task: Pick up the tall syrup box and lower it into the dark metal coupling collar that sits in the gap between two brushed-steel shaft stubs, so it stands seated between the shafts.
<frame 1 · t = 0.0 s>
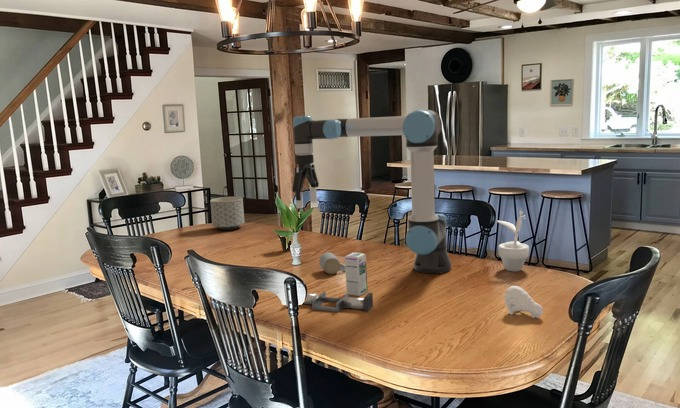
hand: (307, 205, 223), 28 cm above the table, fingers open, 13 cm apart
planter: (229, 229, 323), on the table
ceramic mug: (333, 272, 224), on the table
potted plant: (512, 269, 215), on the table
coupling cradle: (331, 305, 184), on the table
syrup box: (357, 293, 196), on the table
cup: (287, 251, 263), on the table
white lumpy piece: (524, 315, 168), on the table
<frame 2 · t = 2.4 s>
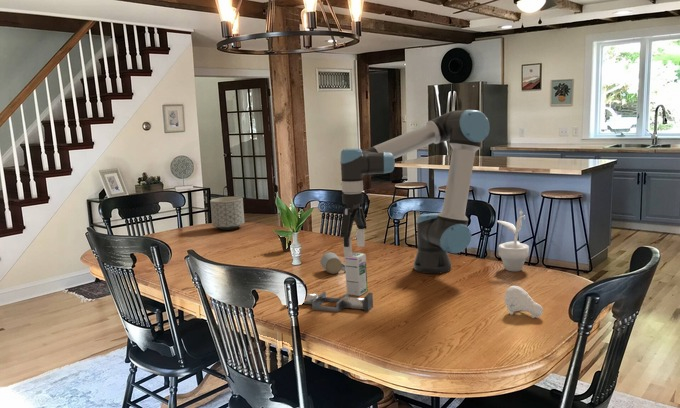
hand: (354, 250, 193), 16 cm above the table, fingers open, 13 cm apart
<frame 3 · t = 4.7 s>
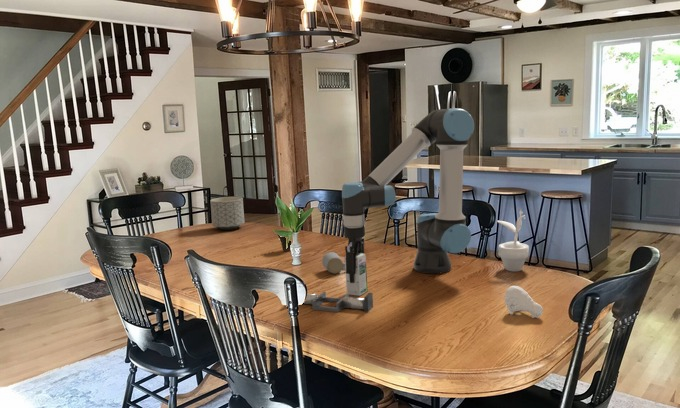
hand: (356, 287, 196), 2 cm above the table, fingers closed on syrup box, 6 cm apart
syrup box: (357, 293, 196), on the table, touching gripper
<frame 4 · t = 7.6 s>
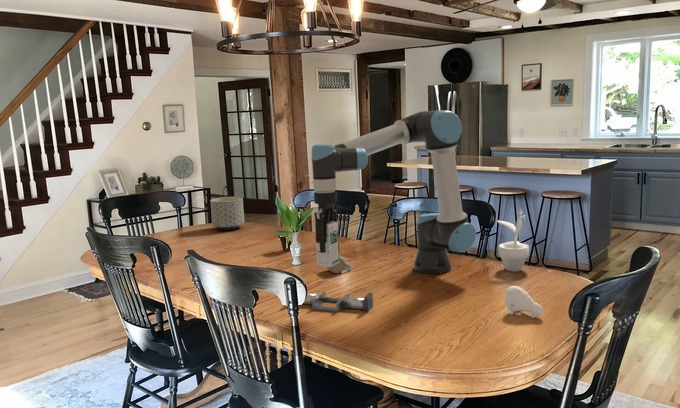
hand: (328, 258, 181), 17 cm above the table, fingers closed on syrup box, 6 cm apart
syrup box: (328, 264, 181), point 15 cm above the table, touching gripper
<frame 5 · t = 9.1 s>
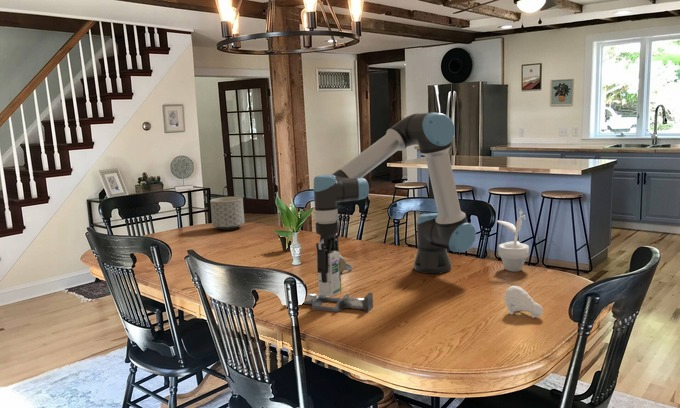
hand: (329, 287, 183), 6 cm above the table, fingers closed on syrup box, 6 cm apart
syrup box: (330, 293, 183), point 4 cm above the table, touching gripper
when the fingers open (3 cm above the table, at t = 10.6 s): syrup box drops 1 cm, resting in coupling cradle.
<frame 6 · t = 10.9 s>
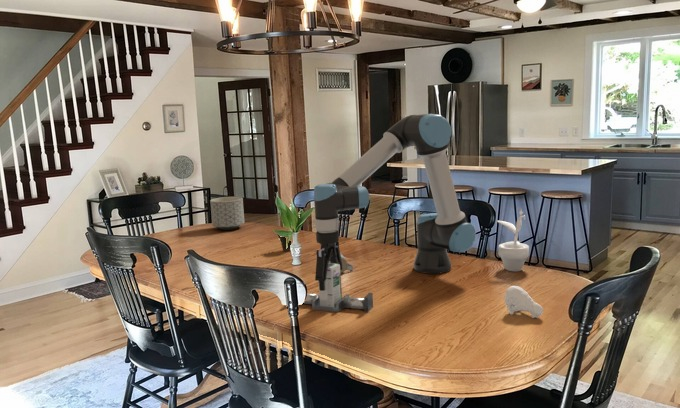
hand: (330, 293, 183), 4 cm above the table, fingers open, 10 cm apart
syrup box: (331, 306, 184), resting in coupling cradle
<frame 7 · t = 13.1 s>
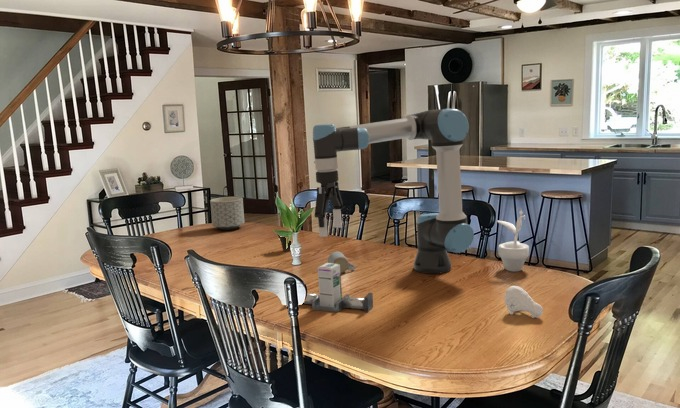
hand: (330, 231, 185), 25 cm above the table, fingers open, 13 cm apart
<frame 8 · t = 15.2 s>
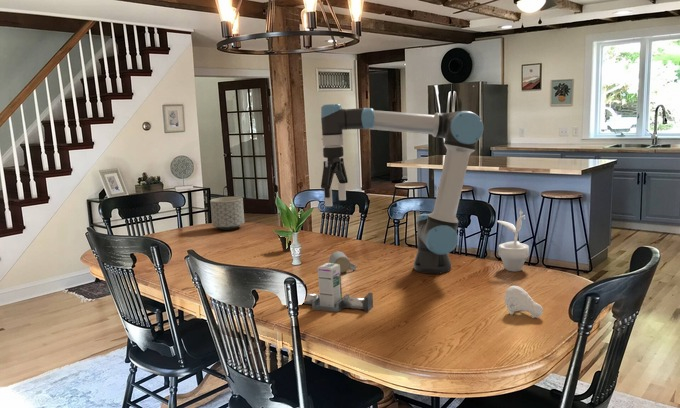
hand: (335, 203, 202), 32 cm above the table, fingers open, 13 cm apart
at the end: syrup box 0.0 cm off-centre on the coupling cradle, point 0.0 cm above the coupling cradle's base; syrup box tilted 0°; the gripper is holding nothing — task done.
